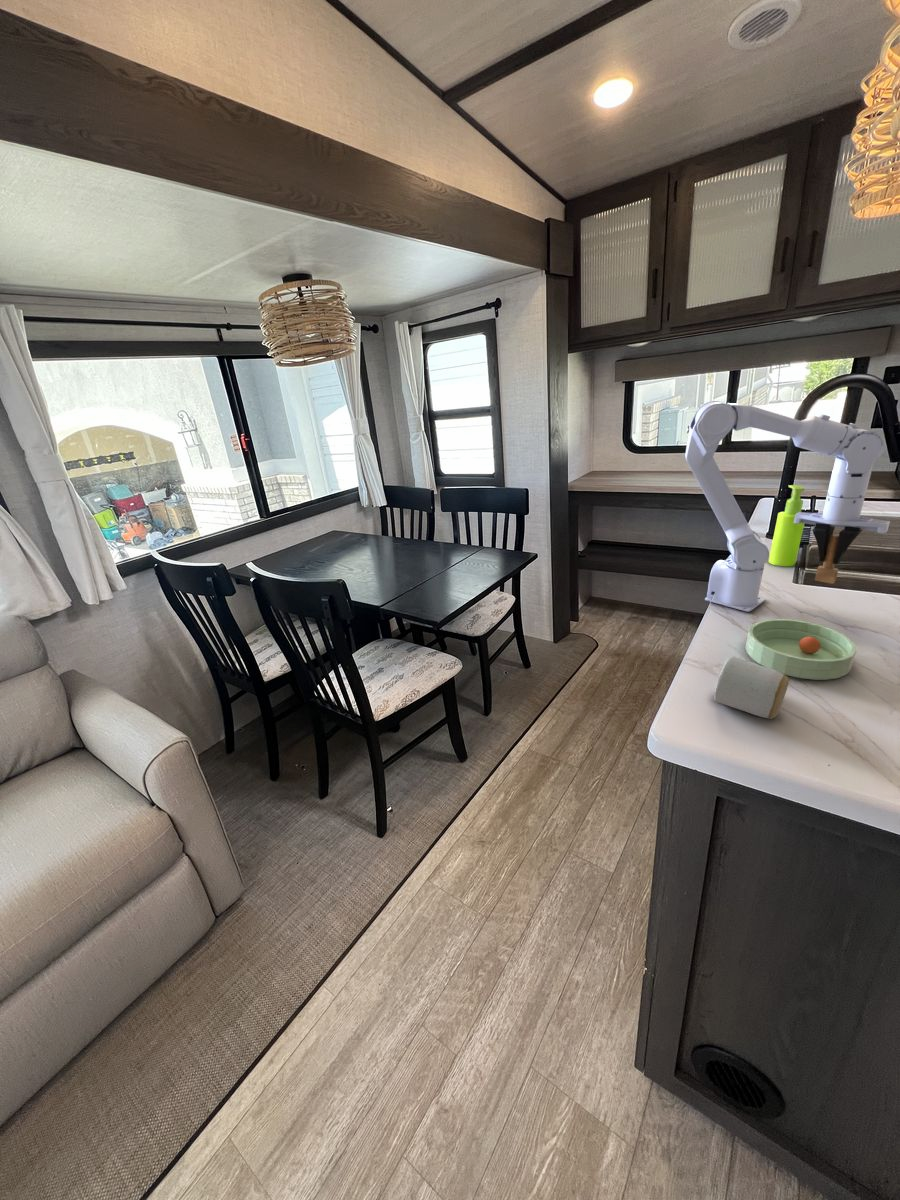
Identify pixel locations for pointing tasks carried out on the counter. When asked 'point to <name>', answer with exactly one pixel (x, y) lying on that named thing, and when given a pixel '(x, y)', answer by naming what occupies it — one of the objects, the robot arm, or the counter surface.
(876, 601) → the counter surface
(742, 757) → the counter surface
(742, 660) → the ceramic mug
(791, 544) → the soap dispenser
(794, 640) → the bowl
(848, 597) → the counter surface
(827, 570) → the brown handled stamp
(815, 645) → the ball
